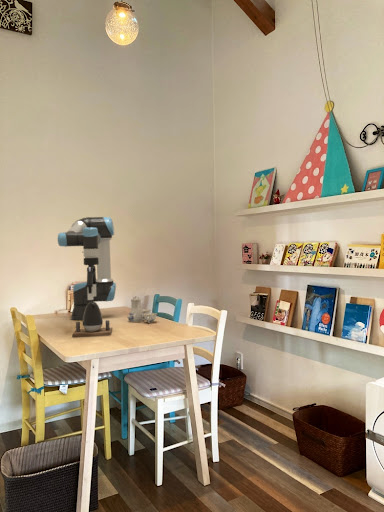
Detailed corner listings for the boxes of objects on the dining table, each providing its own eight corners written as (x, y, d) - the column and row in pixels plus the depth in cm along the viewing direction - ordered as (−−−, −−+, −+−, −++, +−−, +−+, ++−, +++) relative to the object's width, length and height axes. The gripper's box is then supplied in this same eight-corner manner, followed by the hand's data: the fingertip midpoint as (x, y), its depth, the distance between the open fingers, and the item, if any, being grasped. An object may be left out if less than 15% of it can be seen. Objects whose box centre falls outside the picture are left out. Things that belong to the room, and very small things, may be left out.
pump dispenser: (85, 333, 202) (84, 303, 202) (80, 330, 211) (80, 301, 211) (105, 331, 207) (104, 302, 206) (100, 328, 216) (99, 300, 216)
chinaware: (161, 326, 235) (163, 297, 236) (133, 325, 229) (135, 296, 229) (146, 318, 261) (148, 293, 261) (121, 318, 254) (123, 292, 255)
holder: (76, 332, 214) (76, 320, 214) (112, 330, 217) (112, 318, 216) (72, 337, 201) (71, 324, 201) (110, 335, 204) (110, 322, 204)
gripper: (86, 256, 220) (88, 295, 221) (79, 258, 195) (81, 301, 196) (100, 256, 221) (101, 294, 222) (95, 257, 196) (96, 301, 197)
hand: (92, 298), depth 209 cm, fingers open, 13 cm apart
